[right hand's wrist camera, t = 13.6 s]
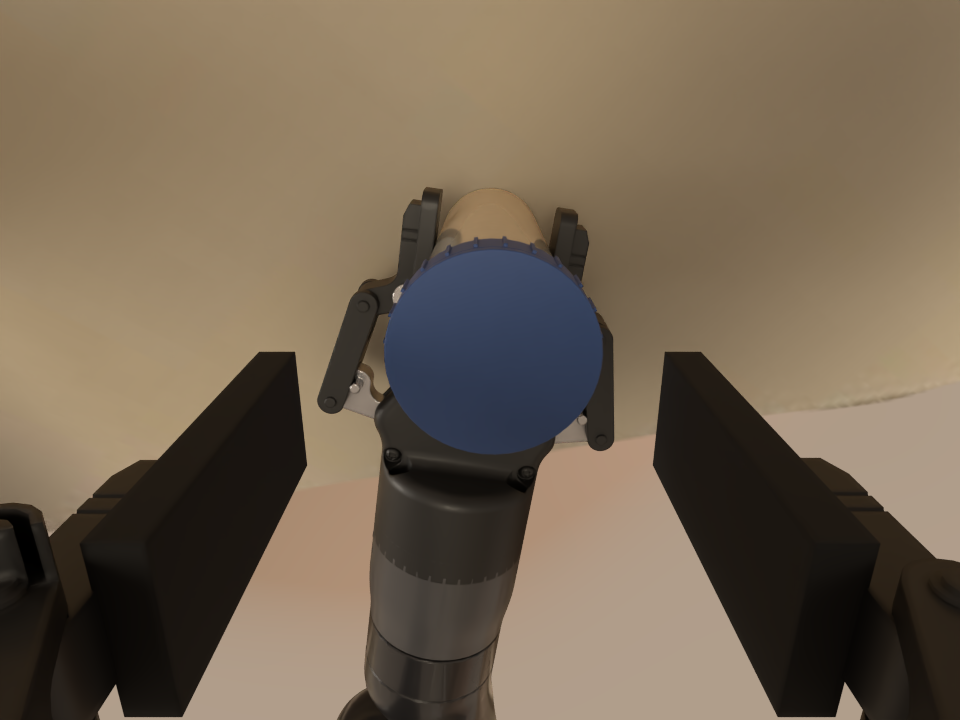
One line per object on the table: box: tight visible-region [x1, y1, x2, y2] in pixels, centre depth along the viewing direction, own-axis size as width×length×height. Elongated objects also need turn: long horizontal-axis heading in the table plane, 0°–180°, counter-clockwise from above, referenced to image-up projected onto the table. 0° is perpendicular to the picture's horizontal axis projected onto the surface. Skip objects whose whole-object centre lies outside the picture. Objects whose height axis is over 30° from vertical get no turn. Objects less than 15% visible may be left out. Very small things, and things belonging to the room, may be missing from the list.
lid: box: [383, 236, 603, 455], centre depth 18 cm, size 6×6×2 cm
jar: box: [429, 188, 553, 260], centre depth 26 cm, size 5×5×18 cm
